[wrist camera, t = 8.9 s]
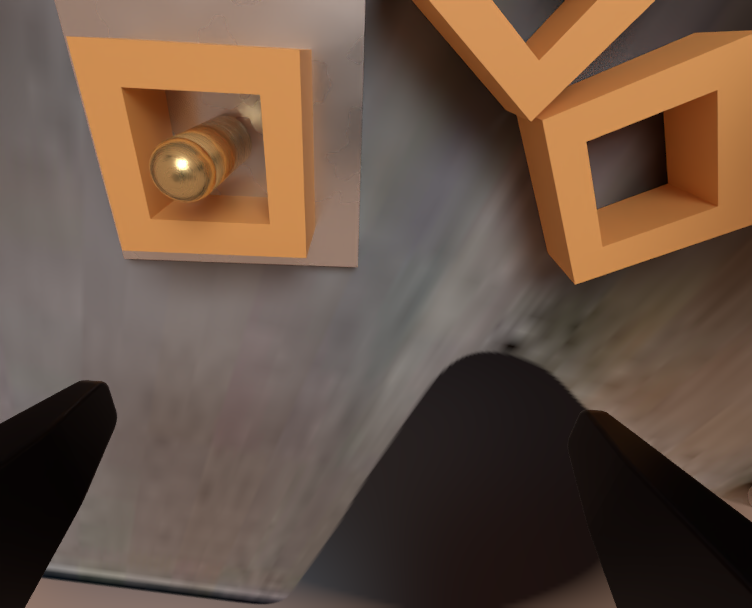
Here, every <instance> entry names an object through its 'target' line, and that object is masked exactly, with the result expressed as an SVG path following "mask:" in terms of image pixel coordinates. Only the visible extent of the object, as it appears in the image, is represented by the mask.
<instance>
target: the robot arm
mask: <svg viewBox="0 0 752 608" xmlns="http://www.w3.org/2000/svg"><path fill="white" fill-rule="evenodd" d="M116 422H117V412H116V409H115V406H114V403H113V399H112V396H111V393H110V390H109V387H108V385H107V384H106V383H105V382H102V381H89V380H83V381H79V382H77V383H75V384H73V385H71V386H69V387H67V388H65V389H64V390H62V391H60V392H58V393H56V394H54V395H52V396H51V397H49V398H47V399H45V400H43V401H41V402H39V403H38V404H36V405H34V406H32V407H30V408H28V409H26V410H25V411H23V412H21V413H19V414H17V415H15V416H13V417H12V418H10V419H8V420H6V421H4V422H2V423H1V424H0V608H25V606H26V604H27V603H28V601H29V599H30V597H31V595H32V593H33V592H34V590H35V588H36V586H37V585H38V583H39V581H40V579H41V577H42V576H43V574H44V572H45V570H46V568H47V566H48V565H49V563H50V561H51V559H52V557H53V556H54V554H55V552H56V550H57V548H58V547H59V545H60V543H61V541H62V539H63V538H64V536H65V534H66V532H67V530H68V528H69V527H70V525H71V523H72V521H73V519H74V518H75V516H76V514H77V512H78V510H79V508H80V506H81V504H82V502H83V500H84V498H85V496H86V494H87V491H88V489H89V487H90V485H91V482H92V480H93V477H94V475H95V473H96V470H97V468H98V466H99V463H100V461H101V459H102V456H103V454H104V452H105V449H106V447H107V445H108V442H109V440H110V438H111V435H112V433H113V431H114V428H115V425H116ZM568 452H569V456H570V460H571V464H572V468H573V472H574V476H575V480H576V484H577V487H578V491H579V495H580V499H581V503H582V507H583V511H584V515H585V518H586V522H587V526H588V529H589V532H590V535H591V538H592V541H593V543H594V546H595V549H596V552H597V554H598V557H599V560H600V563H601V565H602V568H603V571H604V573H605V576H606V578H607V582H608V584H609V587H610V590H611V592H612V595H613V598H614V601H615V603H616V606H617V608H752V522H751V521H750V520H748V519H747V518H745V517H744V516H743V515H742V514H740V513H739V512H738V511H736V510H735V509H734V508H732V507H731V506H730V505H728V504H727V503H726V502H725V501H723V500H722V499H721V498H719V497H718V496H717V495H715V494H714V493H713V492H711V491H710V490H709V489H707V488H706V487H705V486H703V485H702V484H701V483H699V482H698V481H697V480H695V479H694V478H693V477H691V476H690V475H689V474H688V473H686V472H685V471H684V470H682V469H681V468H680V467H678V466H677V465H676V464H674V463H673V462H672V461H670V460H669V459H668V458H666V457H665V456H664V455H662V454H661V453H660V452H658V451H657V450H656V449H655V448H653V447H652V446H651V445H649V444H648V443H647V442H645V441H644V440H643V439H641V438H640V437H639V436H637V435H636V434H635V433H633V432H632V431H631V430H629V429H628V428H627V427H625V426H624V425H623V424H621V423H620V422H619V421H618V420H616V419H615V418H614V417H612V416H611V415H610V414H608V413H607V412H604V411H598V410H583V411H582V412H581V413H580V414H579V416H578V418H577V421H576V423H575V425H574V427H573V430H572V432H571V434H570V437H569V440H568Z"/></svg>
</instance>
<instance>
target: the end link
mask: <svg viewBox="0 0 752 608" xmlns="http://www.w3.org/2000/svg"><path fill="white" fill-rule="evenodd" d="M66 39H67V43H68V46H69V50H70V54H71V58H72V61H73V65H74V69H75V73H76V76H77V80H78V84H79V88H80V92H81V95H82V99H83V103H84V107H85V110H86V114H87V118H88V122H89V126H90V129H91V133H92V137H93V141H94V144H95V148H96V152H97V156H98V159H99V163H100V167H101V171H102V175H103V178H104V182H105V186H106V190H107V193H108V197H109V201H110V205H111V209H112V212H113V216H114V220H115V224H116V227H117V231H118V235H119V239H120V242H121V246H122V250H123V251H144V252H168V253H193V254H217V255H242V256H266V257H291V258H307V254H308V251H309V248H310V244H311V241H312V237H313V234H314V231H315V188H314V139H313V91H312V49H296V48H279V47H262V46H245V45H228V44H211V43H194V42H177V41H160V40H143V39H126V38H102V37H72V36H66ZM165 90H181V91H199V92H218V93H236V94H254V95H260V101H261V115H262V128H263V141H264V154H265V167H266V180H267V193H268V197H250V196H228V195H208V196H206V197H205V198H203V199H201V200H199V201H196V202H188V203H186V202H179V201H176V200H173V199H171V198H169V197H167V196H166V195H164V194H163V193H162V192H161V191H160V190H159V189H158V188H157V187H156V185H155V184H154V182H153V180H152V178H151V175H150V170H149V162H150V157H151V154H152V152H153V151H154V149H155V148H156V147H157V146H158V144H160V143H161V142H163V141H164V140H166V139H168V138H171V137H173V134H172V128H171V122H170V116H169V111H168V105H167V99H166V94H165Z"/></svg>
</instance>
